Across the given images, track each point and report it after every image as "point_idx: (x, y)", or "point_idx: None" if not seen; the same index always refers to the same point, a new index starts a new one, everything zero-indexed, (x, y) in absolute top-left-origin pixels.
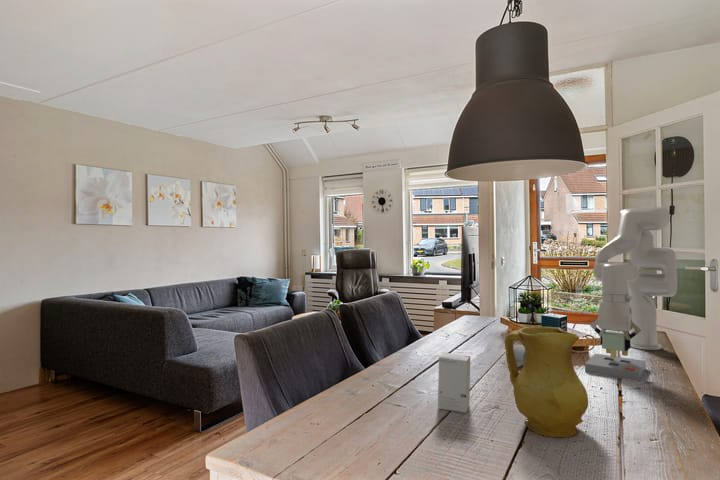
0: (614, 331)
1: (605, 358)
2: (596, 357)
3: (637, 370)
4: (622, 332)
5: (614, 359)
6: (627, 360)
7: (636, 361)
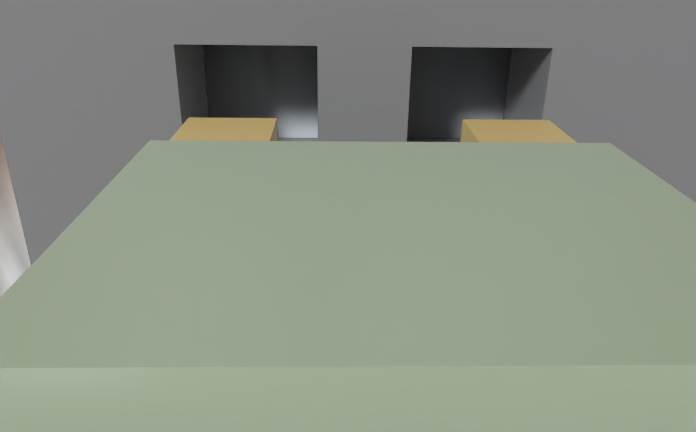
0: (303, 377)
1: (178, 39)
2: (70, 142)
3: None
4: (685, 396)
5: (321, 92)
6: (504, 30)
7: (635, 7)
